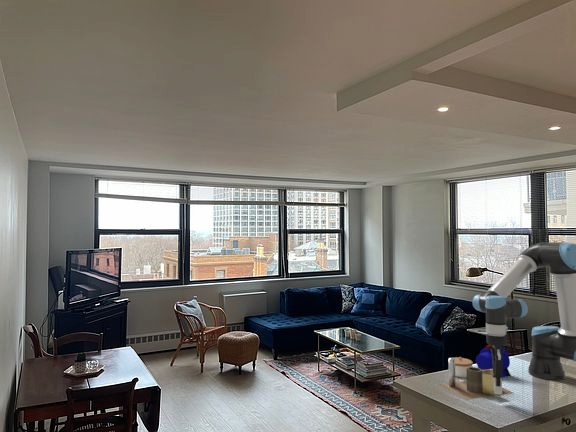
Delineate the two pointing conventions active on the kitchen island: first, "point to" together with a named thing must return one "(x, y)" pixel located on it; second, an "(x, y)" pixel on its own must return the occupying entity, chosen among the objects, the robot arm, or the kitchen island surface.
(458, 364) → the lidded jar
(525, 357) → the kitchen island surface
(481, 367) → the alarm clock
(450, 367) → the pin
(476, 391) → the jig
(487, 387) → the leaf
